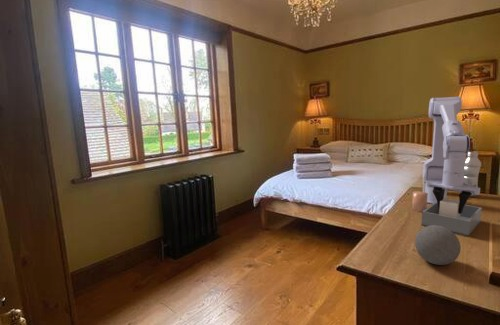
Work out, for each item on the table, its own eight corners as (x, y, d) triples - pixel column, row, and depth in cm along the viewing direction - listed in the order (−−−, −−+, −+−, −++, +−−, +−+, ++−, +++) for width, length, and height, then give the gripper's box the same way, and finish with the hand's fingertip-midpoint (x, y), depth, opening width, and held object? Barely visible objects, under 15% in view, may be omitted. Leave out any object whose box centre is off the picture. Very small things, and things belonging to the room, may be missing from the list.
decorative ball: (468, 269, 72) (472, 231, 70) (435, 275, 70) (438, 237, 68) (435, 250, 81) (438, 217, 80) (405, 255, 79) (407, 222, 78)
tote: (437, 212, 110) (438, 199, 109) (480, 221, 100) (481, 207, 99) (421, 225, 99) (422, 211, 98) (467, 236, 89) (469, 221, 88)
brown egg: (414, 207, 117) (415, 190, 116) (428, 209, 113) (429, 192, 112) (409, 210, 114) (410, 193, 112) (423, 213, 110) (425, 195, 109)
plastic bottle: (460, 192, 133) (464, 150, 129) (478, 195, 128) (483, 151, 124) (457, 196, 128) (461, 152, 125) (476, 199, 123) (481, 153, 120)
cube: (443, 211, 101) (444, 198, 100) (460, 215, 97) (461, 201, 96) (438, 215, 97) (440, 201, 97) (456, 219, 94) (457, 204, 93)
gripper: (424, 171, 97) (422, 208, 100) (478, 177, 87) (473, 219, 89) (431, 167, 102) (429, 204, 104) (483, 173, 91) (479, 213, 94)
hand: (450, 210), depth 97 cm, fingers closed on cube, 5 cm apart
